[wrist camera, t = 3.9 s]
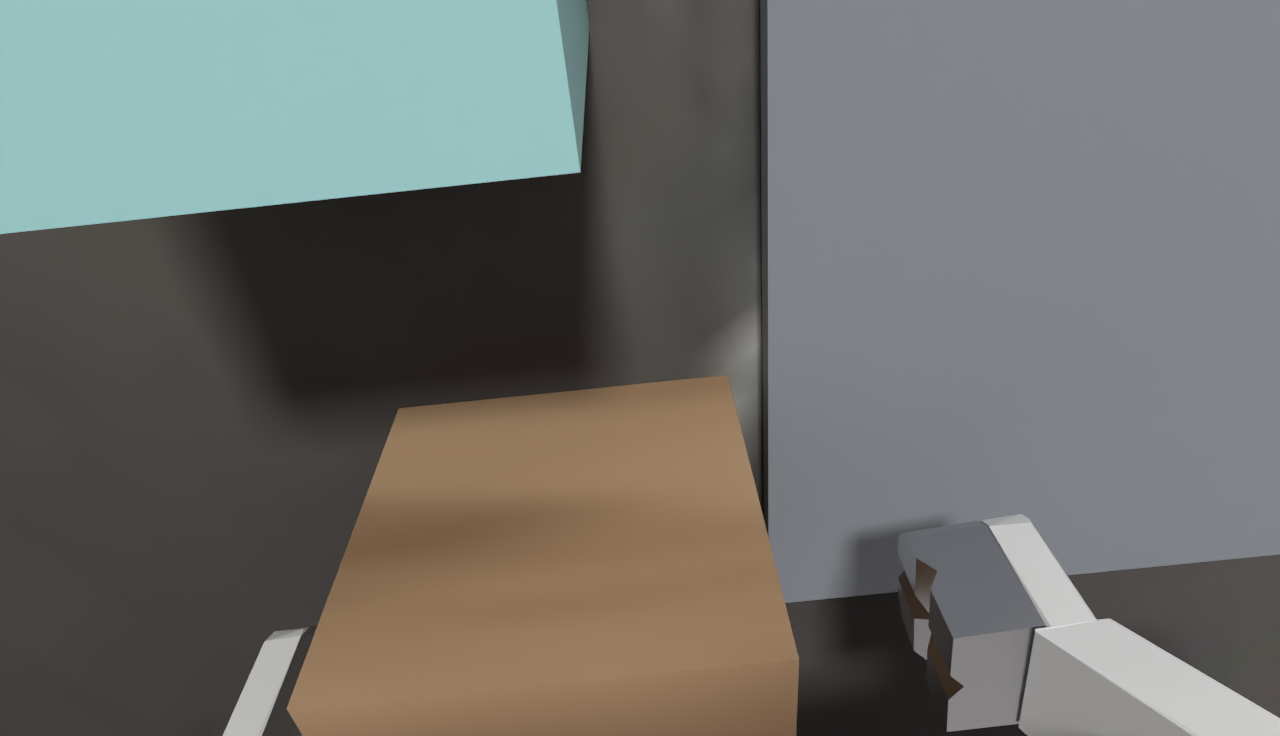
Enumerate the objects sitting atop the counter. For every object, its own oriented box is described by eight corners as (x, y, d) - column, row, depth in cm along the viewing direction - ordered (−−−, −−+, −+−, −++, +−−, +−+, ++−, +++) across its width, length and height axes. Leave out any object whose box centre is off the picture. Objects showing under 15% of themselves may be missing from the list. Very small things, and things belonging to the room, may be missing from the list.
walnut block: (734, 591, 13) (790, 890, 9) (470, 616, 13) (417, 924, 9) (726, 371, 10) (799, 659, 7) (399, 405, 10) (287, 709, 7)
